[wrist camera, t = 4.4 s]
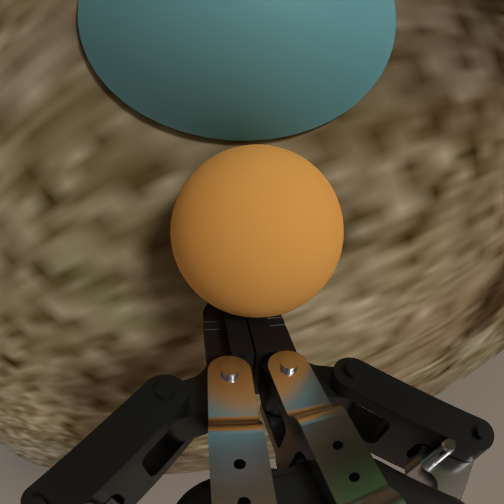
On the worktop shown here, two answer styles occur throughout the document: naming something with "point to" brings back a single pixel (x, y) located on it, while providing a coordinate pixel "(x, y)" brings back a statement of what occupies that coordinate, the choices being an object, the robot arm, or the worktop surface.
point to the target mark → (238, 60)
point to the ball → (257, 231)
